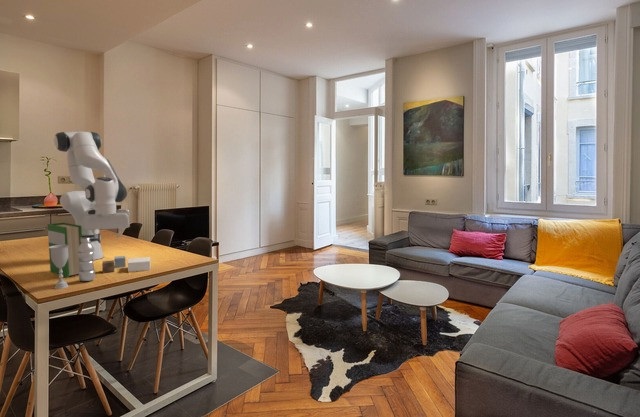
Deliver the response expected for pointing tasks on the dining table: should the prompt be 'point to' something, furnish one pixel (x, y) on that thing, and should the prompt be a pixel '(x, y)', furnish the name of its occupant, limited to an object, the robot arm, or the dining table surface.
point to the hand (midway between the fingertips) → (107, 237)
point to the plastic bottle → (86, 260)
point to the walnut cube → (108, 266)
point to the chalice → (60, 262)
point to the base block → (139, 264)
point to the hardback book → (65, 236)
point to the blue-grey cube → (119, 261)
